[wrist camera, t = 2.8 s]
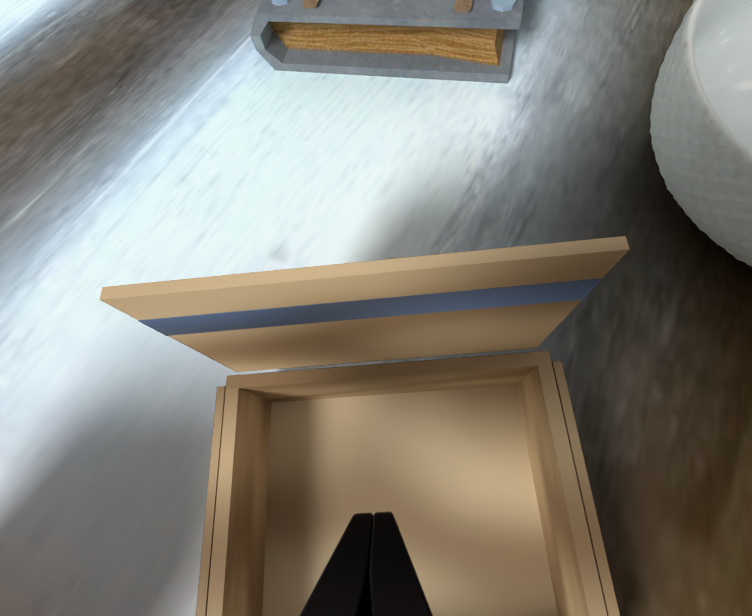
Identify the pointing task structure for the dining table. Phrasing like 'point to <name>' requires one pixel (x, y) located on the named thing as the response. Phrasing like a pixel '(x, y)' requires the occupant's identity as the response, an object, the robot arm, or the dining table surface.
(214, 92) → the dining table surface
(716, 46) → the cereal bowl
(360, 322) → the flap
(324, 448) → the open wooden box
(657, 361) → the dining table surface
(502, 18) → the book
